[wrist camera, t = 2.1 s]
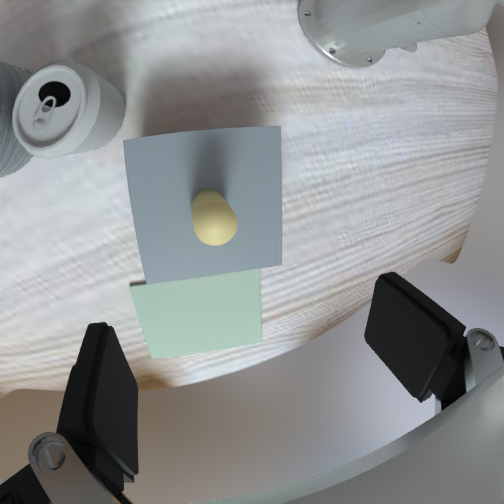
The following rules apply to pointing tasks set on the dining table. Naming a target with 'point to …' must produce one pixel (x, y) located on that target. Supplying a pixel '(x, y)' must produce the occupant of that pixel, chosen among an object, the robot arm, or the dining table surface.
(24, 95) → the can
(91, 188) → the dining table surface
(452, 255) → the dining table surface
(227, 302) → the mat
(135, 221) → the lid
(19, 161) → the vase
